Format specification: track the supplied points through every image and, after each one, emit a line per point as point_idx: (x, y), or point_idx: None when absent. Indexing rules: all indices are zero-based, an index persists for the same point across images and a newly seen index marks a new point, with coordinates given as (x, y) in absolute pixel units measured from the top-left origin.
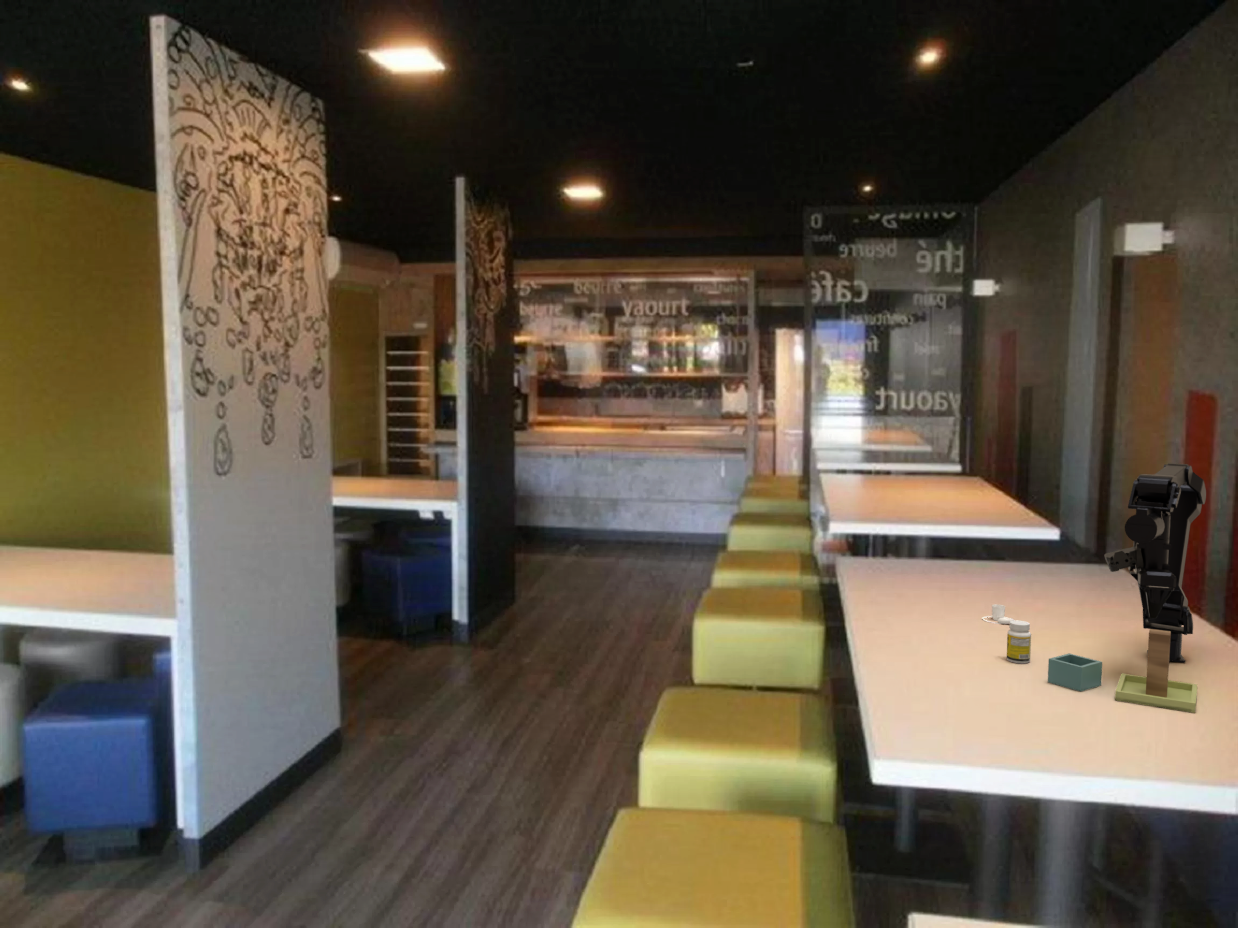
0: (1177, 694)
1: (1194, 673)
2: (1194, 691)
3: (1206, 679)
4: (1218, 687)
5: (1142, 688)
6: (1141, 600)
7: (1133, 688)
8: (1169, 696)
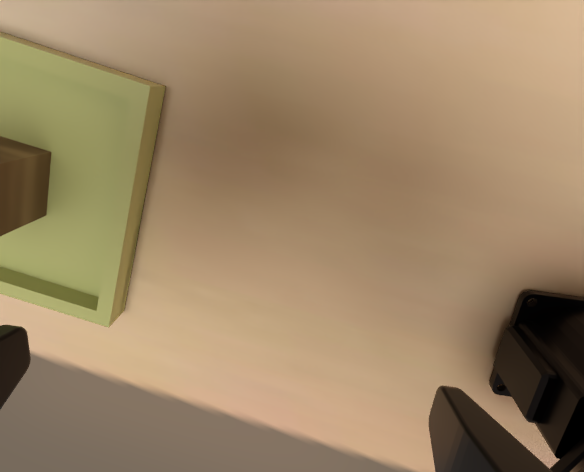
0: (42, 242)
1: (362, 374)
2: (16, 292)
3: (298, 385)
4: (217, 388)
5: (61, 140)
6: (473, 431)
7: (46, 104)
8: None
